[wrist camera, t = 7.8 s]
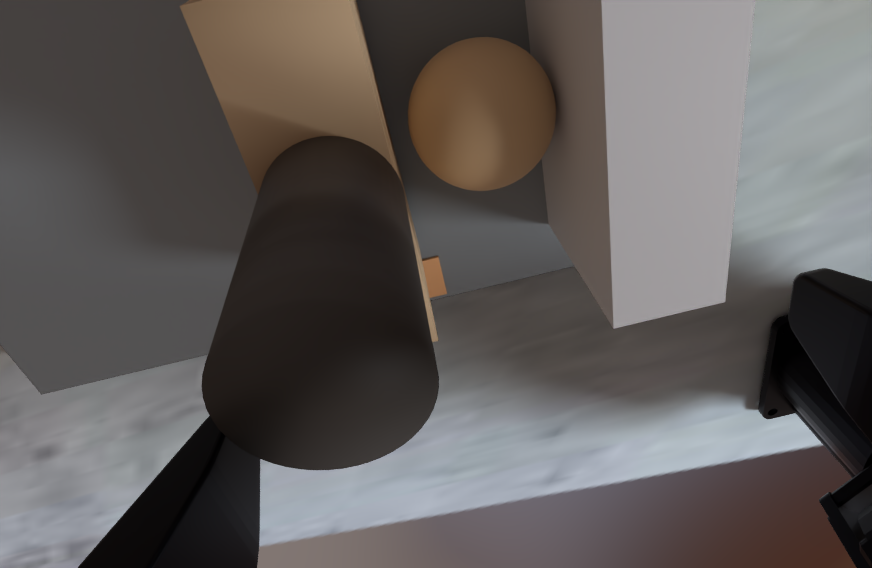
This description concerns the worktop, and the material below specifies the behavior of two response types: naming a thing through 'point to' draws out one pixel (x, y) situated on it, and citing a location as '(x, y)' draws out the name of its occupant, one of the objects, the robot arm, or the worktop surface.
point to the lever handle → (314, 244)
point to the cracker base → (415, 151)
